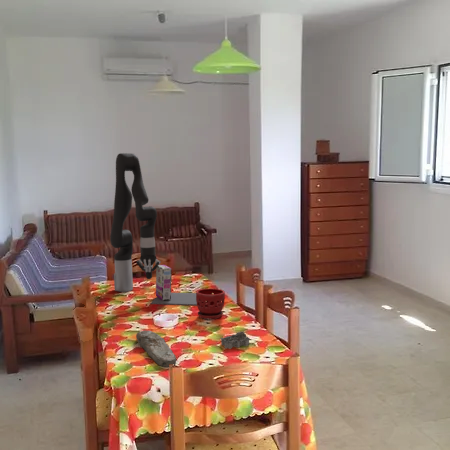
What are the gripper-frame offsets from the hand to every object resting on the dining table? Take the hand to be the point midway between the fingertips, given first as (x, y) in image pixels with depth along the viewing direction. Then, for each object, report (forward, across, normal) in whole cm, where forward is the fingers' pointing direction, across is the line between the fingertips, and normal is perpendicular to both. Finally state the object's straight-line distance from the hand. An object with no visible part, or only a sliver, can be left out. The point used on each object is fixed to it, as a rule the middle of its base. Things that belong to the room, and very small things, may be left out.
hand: (149, 278), depth 276 cm
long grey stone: (+11, +25, -69) cm, 74 cm away
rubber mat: (+11, +15, +1) cm, 19 cm away
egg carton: (+11, +54, -59) cm, 81 cm away
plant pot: (+11, +37, -25) cm, 46 cm away
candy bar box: (+10, +7, 0) cm, 12 cm away
